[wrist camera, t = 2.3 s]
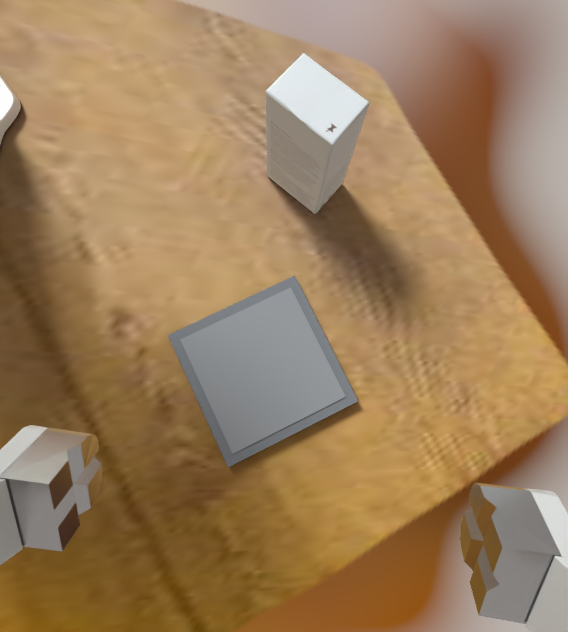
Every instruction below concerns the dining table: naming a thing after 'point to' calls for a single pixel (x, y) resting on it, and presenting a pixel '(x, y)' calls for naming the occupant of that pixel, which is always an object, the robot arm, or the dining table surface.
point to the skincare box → (311, 131)
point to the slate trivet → (262, 370)
